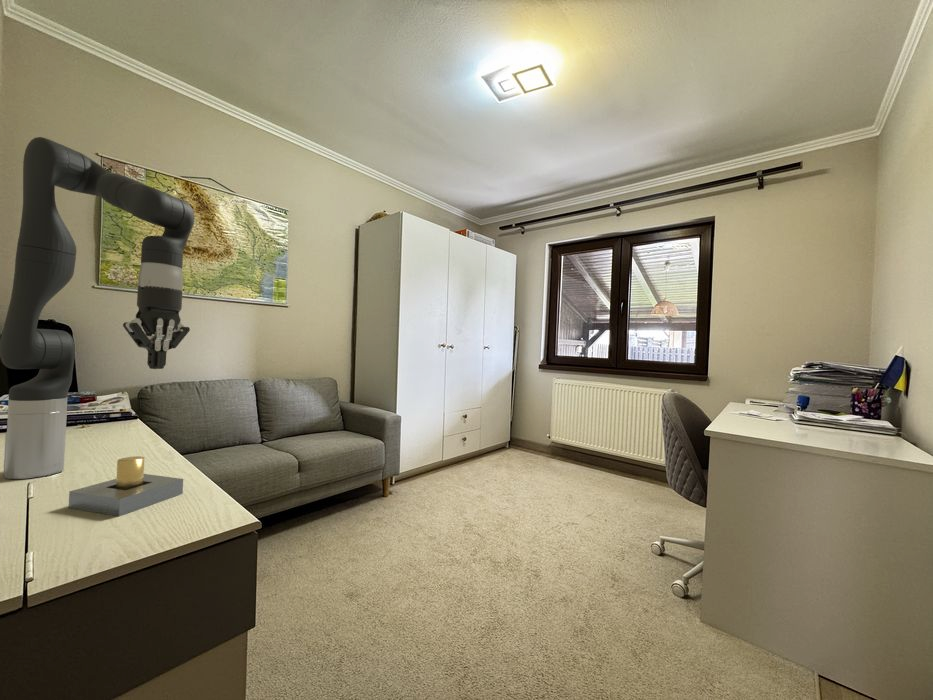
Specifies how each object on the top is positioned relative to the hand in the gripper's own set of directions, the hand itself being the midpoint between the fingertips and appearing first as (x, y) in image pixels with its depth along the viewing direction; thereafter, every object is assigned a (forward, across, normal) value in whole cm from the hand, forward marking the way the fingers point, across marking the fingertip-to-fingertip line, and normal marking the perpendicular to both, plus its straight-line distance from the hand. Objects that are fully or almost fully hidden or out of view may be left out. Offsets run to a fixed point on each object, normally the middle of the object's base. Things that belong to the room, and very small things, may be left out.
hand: (156, 368), depth 84 cm
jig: (+25, +6, +3) cm, 26 cm away
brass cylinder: (+25, +6, +3) cm, 26 cm away
